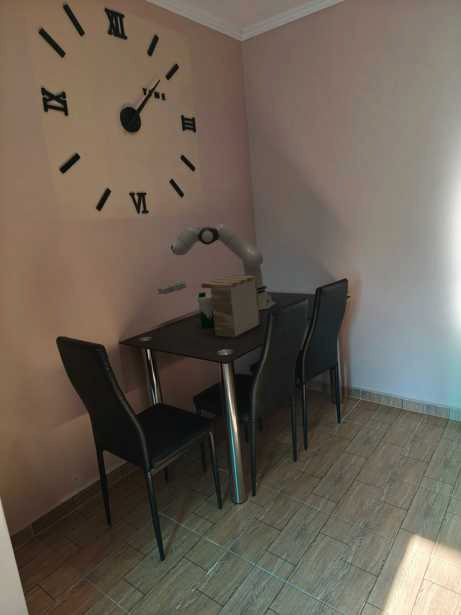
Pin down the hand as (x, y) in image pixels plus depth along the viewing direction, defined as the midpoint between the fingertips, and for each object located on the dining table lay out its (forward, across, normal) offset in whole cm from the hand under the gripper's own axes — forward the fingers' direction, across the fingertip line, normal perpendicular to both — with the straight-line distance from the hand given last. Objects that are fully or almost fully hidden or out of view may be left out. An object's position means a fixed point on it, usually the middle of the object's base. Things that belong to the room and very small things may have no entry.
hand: (180, 288), depth 245 cm
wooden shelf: (+37, 0, +22) cm, 43 cm away
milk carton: (+19, 0, +22) cm, 29 cm away
